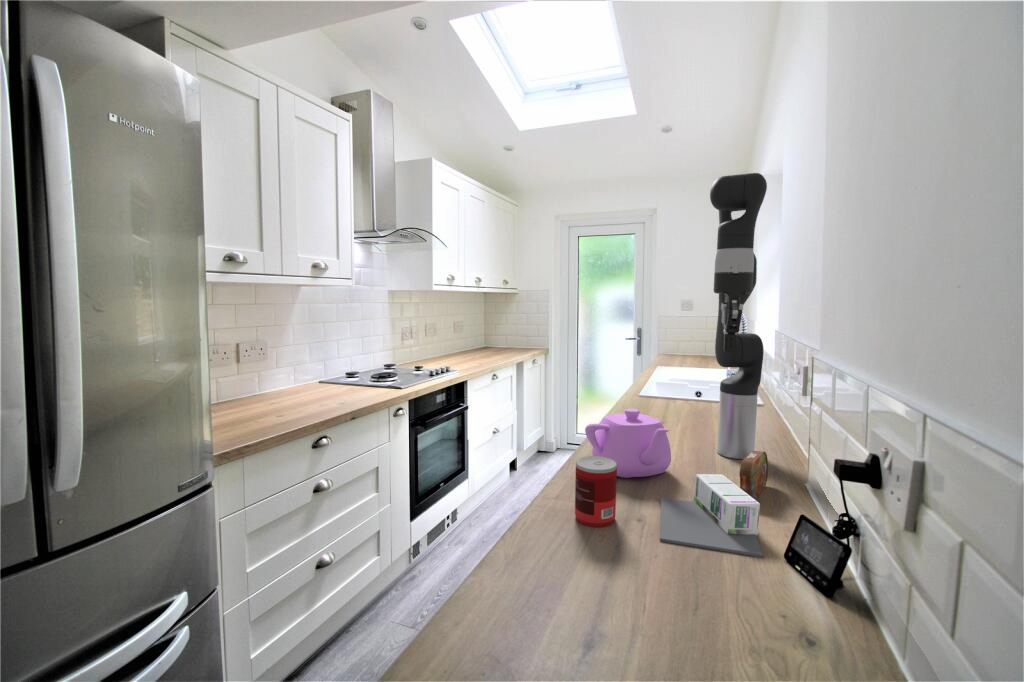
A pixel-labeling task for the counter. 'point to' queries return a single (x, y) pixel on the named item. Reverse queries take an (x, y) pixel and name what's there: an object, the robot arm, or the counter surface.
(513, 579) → the counter surface
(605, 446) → the teapot
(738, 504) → the syrup box
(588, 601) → the counter surface
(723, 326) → the robot arm
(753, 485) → the tin
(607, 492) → the canned food
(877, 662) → the counter surface
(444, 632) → the counter surface
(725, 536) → the mat
